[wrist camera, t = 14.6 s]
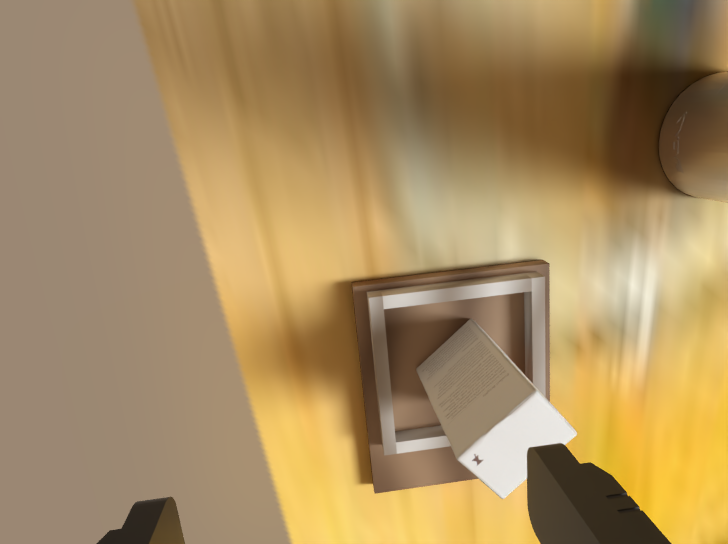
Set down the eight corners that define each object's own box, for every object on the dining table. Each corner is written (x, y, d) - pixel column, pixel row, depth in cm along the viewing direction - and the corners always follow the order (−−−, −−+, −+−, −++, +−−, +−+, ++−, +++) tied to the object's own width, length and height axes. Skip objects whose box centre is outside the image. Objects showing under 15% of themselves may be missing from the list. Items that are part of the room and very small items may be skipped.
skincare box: (449, 401, 42) (501, 504, 30) (414, 368, 41) (453, 460, 29) (506, 350, 41) (581, 435, 29) (471, 315, 40) (535, 388, 28)
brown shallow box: (542, 259, 41) (558, 268, 38) (543, 459, 45) (557, 479, 43) (351, 282, 40) (354, 292, 37) (373, 484, 44) (376, 505, 42)
